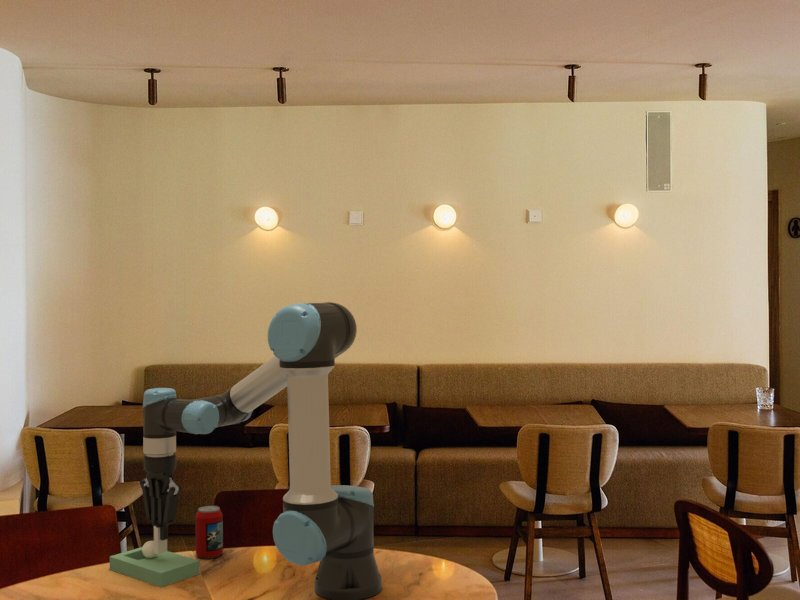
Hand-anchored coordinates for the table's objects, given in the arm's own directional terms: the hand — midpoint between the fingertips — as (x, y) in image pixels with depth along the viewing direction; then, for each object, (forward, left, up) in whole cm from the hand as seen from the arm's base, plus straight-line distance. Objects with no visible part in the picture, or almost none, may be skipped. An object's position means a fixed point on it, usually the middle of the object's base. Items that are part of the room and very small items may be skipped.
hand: (160, 552), depth 202 cm
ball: (+4, 0, 0) cm, 4 cm away
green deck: (+3, 0, -5) cm, 6 cm away
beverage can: (+2, -16, -5) cm, 17 cm away
